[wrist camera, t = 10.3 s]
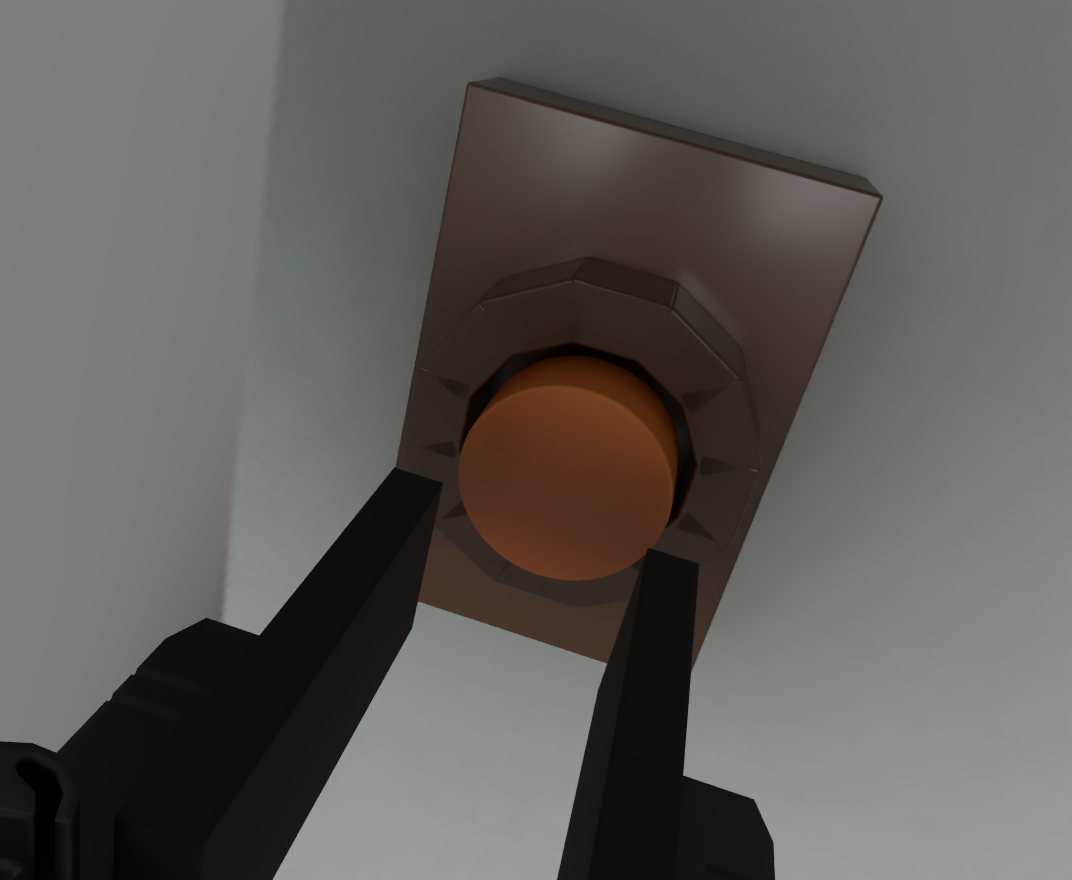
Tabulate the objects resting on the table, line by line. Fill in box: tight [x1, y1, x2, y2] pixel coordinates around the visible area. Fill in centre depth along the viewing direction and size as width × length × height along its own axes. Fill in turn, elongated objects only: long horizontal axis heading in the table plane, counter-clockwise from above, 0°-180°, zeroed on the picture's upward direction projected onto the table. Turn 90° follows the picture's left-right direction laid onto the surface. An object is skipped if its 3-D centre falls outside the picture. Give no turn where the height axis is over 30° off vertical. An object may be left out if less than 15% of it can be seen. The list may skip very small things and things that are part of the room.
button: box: [458, 355, 679, 581], centre depth 17 cm, size 4×4×2 cm
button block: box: [395, 78, 883, 672], centre depth 19 cm, size 12×8×4 cm, turn 166°
